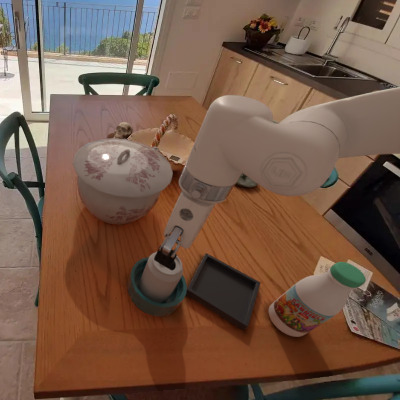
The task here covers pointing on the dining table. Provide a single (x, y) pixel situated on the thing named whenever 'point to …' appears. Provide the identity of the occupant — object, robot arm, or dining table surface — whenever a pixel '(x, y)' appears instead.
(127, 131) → the skull
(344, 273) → the milk bottle
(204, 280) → the tray
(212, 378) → the dining table surface
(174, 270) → the can
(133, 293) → the bowl
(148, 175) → the chamber pot
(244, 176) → the lid
